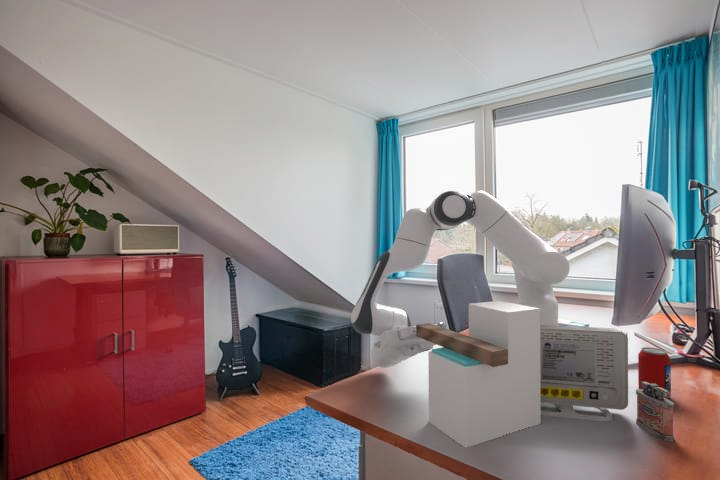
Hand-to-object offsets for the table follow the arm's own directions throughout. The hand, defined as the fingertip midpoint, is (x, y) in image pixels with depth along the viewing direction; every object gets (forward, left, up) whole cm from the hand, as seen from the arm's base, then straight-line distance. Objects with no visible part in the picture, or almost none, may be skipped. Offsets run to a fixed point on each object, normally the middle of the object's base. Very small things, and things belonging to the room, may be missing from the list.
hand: (429, 326), depth 94 cm
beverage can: (-61, +4, -20) cm, 64 cm away
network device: (-32, +8, -20) cm, 38 cm away
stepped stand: (-9, +11, -19) cm, 24 cm away
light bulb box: (-67, -35, -20) cm, 78 cm away
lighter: (-44, +20, -20) cm, 52 cm away
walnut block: (-3, +10, -3) cm, 10 cm away
